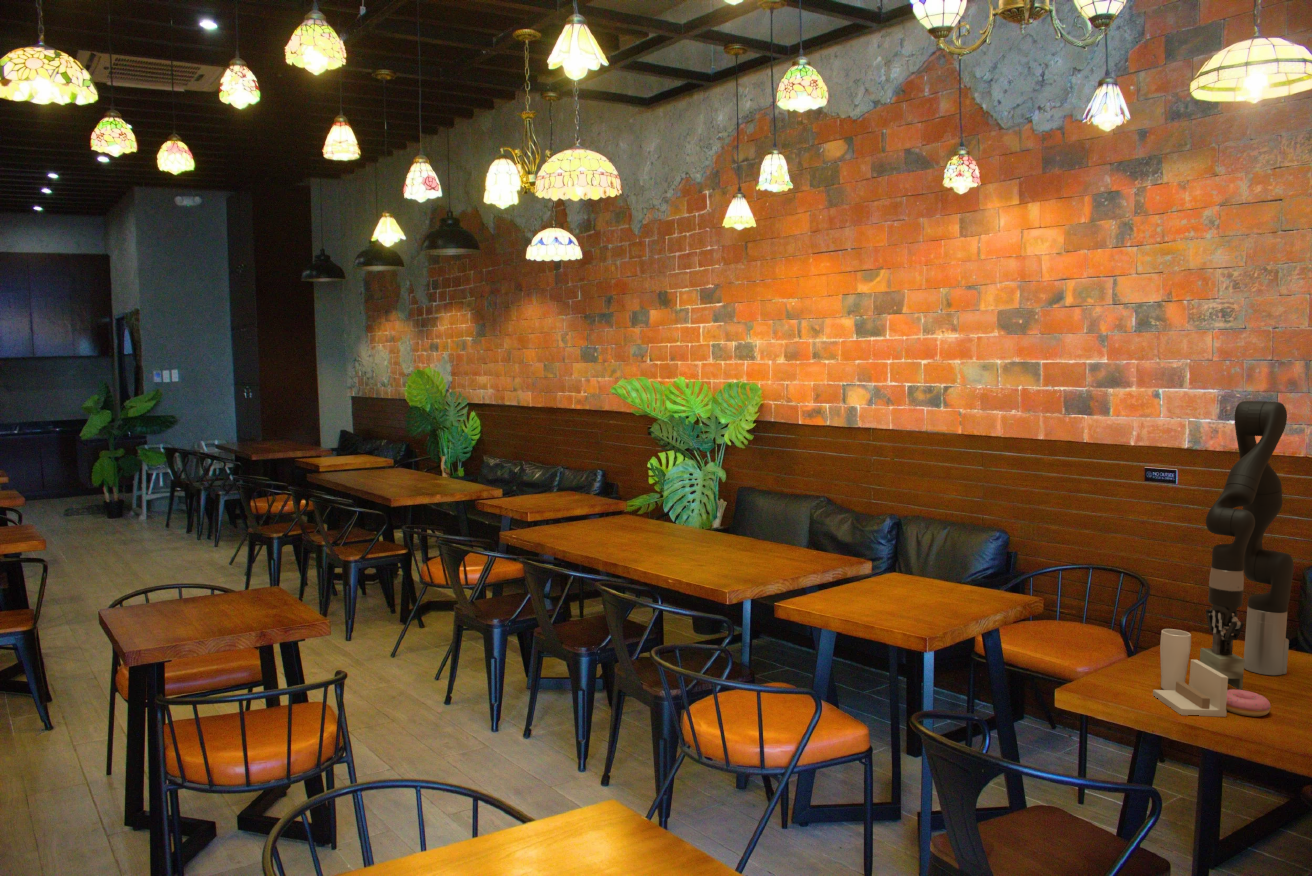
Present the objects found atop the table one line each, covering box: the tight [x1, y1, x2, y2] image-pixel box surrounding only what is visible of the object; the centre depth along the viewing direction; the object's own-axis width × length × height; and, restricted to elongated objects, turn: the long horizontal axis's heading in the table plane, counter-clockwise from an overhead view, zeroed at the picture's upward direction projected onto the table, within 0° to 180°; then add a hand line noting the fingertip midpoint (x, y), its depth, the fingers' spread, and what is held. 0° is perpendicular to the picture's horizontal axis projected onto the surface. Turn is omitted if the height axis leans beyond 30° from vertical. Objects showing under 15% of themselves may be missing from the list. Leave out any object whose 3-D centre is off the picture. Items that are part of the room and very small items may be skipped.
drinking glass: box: [1159, 628, 1192, 690], centre depth 244 cm, size 7×7×15 cm
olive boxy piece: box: [1199, 632, 1245, 690], centre depth 245 cm, size 6×9×13 cm, turn 179°
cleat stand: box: [1152, 659, 1229, 718], centre depth 233 cm, size 10×14×10 cm
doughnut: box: [1226, 688, 1272, 717], centre depth 231 cm, size 11×11×4 cm
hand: (1221, 652), depth 245 cm, fingers closed on olive boxy piece
